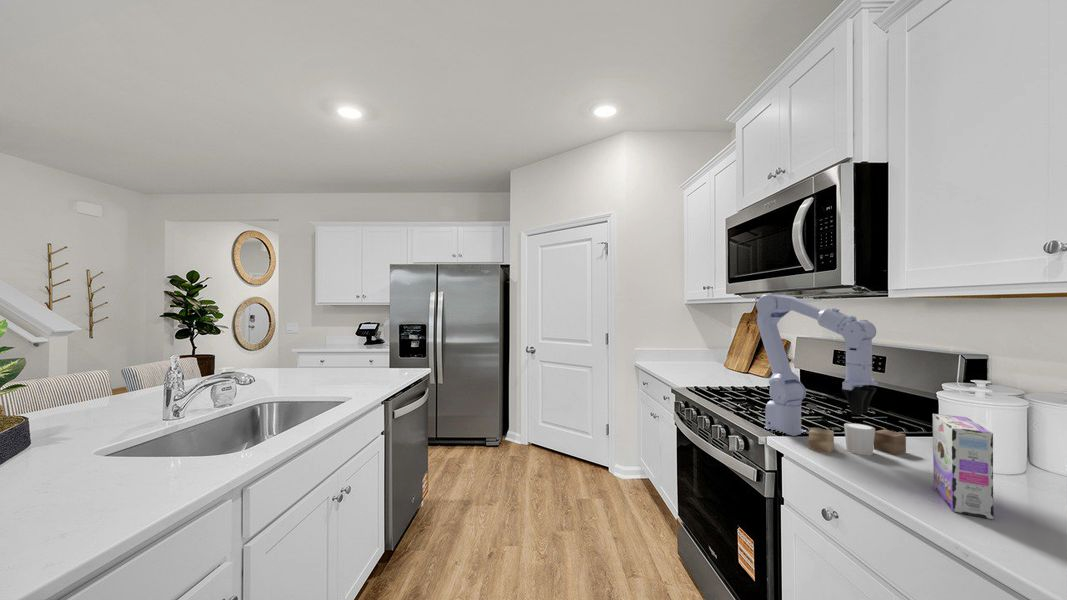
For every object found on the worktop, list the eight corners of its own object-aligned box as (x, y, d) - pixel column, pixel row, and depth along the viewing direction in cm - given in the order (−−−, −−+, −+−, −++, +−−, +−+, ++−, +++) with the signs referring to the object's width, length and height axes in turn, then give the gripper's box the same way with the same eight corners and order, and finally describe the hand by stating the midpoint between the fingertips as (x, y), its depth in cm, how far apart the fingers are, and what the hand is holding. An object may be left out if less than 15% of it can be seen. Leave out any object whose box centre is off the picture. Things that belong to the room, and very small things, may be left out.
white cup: (882, 456, 111) (882, 429, 111) (856, 456, 111) (855, 429, 111) (862, 447, 118) (862, 422, 118) (837, 447, 118) (837, 422, 118)
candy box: (995, 521, 78) (994, 432, 78) (952, 512, 81) (951, 427, 81) (969, 492, 89) (968, 416, 89) (932, 486, 92) (931, 412, 93)
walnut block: (873, 449, 116) (873, 431, 116) (884, 447, 118) (884, 429, 118) (894, 455, 112) (894, 436, 112) (905, 452, 114) (905, 434, 114)
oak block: (808, 449, 116) (808, 431, 116) (812, 444, 120) (812, 427, 120) (830, 453, 113) (830, 435, 113) (833, 448, 117) (833, 431, 117)
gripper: (864, 368, 107) (864, 420, 107) (887, 364, 115) (888, 413, 115) (833, 364, 113) (833, 414, 113) (857, 361, 121) (857, 407, 121)
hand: (859, 413), depth 114 cm, fingers open, 3 cm apart
